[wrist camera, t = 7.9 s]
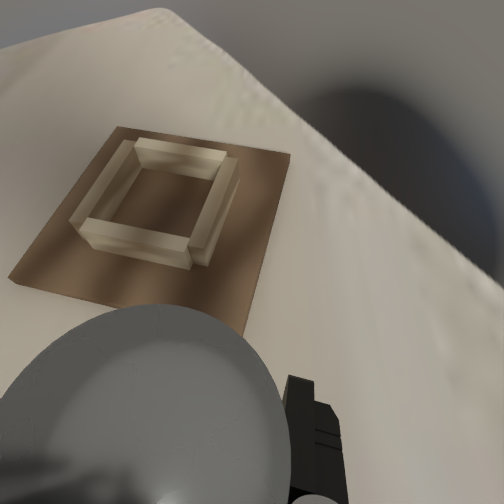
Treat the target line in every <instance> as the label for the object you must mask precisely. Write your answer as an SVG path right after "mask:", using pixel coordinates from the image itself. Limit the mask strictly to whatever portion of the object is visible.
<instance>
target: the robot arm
mask: <svg viewBox="0 0 504 504" xmlns="http://www.w3.org/2000/svg"><path fill="white" fill-rule="evenodd" d="M0 400H1V399H0ZM282 403H283V407H284V411H285V415H286V419H287V423H288V430H289V438H290V446H291V477H290V487H289V497H288V503H287V504H349V501H348V493H347V485H346V476H345V468H344V460H343V453H342V443H341V439H340V437H341V434H340V426H339V420H338V418H337V416H336V415H335V413H334V411H333V410H332V408H331V406H330V405H328V404H325V403H321V402H317V401H314V381H311V380H307V379H303V378H300V377H296V376H292V375H288V378H287V382H286V387H285V391H284V395H283V399H282Z"/></svg>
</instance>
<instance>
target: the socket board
mask: <svg viewBox="0 0 504 504" xmlns="http://www.w3.org/2000/svg"><path fill="white" fill-rule="evenodd" d="M289 163H290V154H287V153H281V152H275V151H268V150H262V149H256V148H250V147H243V146H237V145H231V144H225V143H218V142H212V141H206V140H200V139H193V138H187V137H181V136H175V135H168V134H162V133H156V132H150V131H143V130H137V129H131V128H125V127H118V126H117V127H116V129H115V130H114V131H113V133H112V134H111V135H110V137H109V138H108V140H107V141H106V142H105V144H104V145H103V147H102V148H101V149H100V151H99V152H98V153H97V155H96V156H95V158H94V159H93V160H92V162H91V163H90V164H89V166H88V167H87V169H86V170H85V171H84V173H83V174H82V175H81V177H80V178H79V180H78V181H77V182H76V184H75V185H74V187H73V188H72V189H71V191H70V192H69V193H68V195H67V196H66V198H65V199H64V200H63V202H62V203H61V204H60V206H59V207H58V209H57V210H56V211H55V213H54V214H53V215H52V217H51V218H50V220H49V221H48V222H47V224H46V225H45V227H44V228H43V229H42V231H41V232H40V233H39V235H38V236H37V238H36V239H35V240H34V242H33V243H32V244H31V246H30V247H29V249H28V250H27V251H26V253H25V254H24V255H23V257H22V258H21V260H20V261H19V262H18V264H17V265H16V267H15V268H14V269H13V271H12V272H11V273H10V275H9V276H8V278H9V279H10V280H12V281H13V282H14V283H16V284H19V285H24V286H28V287H32V288H36V289H40V290H44V291H48V292H52V293H56V294H61V295H65V296H69V297H73V298H77V299H81V300H85V301H89V302H94V303H98V304H102V305H106V306H110V307H114V308H118V309H121V308H125V307H131V306H136V305H145V304H168V305H177V306H182V307H187V308H191V309H194V310H197V311H200V312H203V313H206V314H208V315H210V316H212V317H214V318H216V319H218V320H220V321H221V322H223V323H224V324H226V325H227V326H229V327H231V328H232V329H233V330H234V331H236V332H237V333H238V334H239V335H240V336H241V337H243V333H244V330H245V326H246V322H247V318H248V315H249V311H250V307H251V304H252V300H253V296H254V292H255V289H256V285H257V281H258V278H259V274H260V270H261V266H262V263H263V259H264V255H265V252H266V248H267V244H268V241H269V237H270V233H271V229H272V226H273V222H274V218H275V215H276V211H277V207H278V203H279V200H280V196H281V192H282V189H283V185H284V181H285V177H286V174H287V170H288V166H289Z"/></svg>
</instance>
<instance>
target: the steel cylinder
mask: <svg viewBox="0 0 504 504" xmlns="http://www.w3.org/2000/svg"><path fill="white" fill-rule="evenodd" d="M290 477H291V446H290V438H289V430H288V423H287V419H286V415H285V411H284V407H283V403H282V400H281V398H280V395H279V392H278V389H277V387H276V384H275V382H274V380H273V379H272V377H271V375H270V373H269V371H268V369H267V367H266V366H265V364H264V363H263V361H262V360H261V358H260V357H259V355H258V354H257V353H256V351H255V350H254V349H253V348H252V347H251V346H250V345H249V344H248V342H247V341H246V340H245V339H244V338H243V337H241V336H240V335H239V334H238V333H237V332H236V331H234V330H233V329H232V328H231V327H229V326H227V325H226V324H224V323H223V322H221V321H220V320H218V319H216V318H214V317H212V316H210V315H208V314H206V313H203V312H200V311H197V310H194V309H191V308H187V307H182V306H177V305H168V304H145V305H136V306H131V307H125V308H121V309H117V310H114V311H111V312H107V313H104V314H102V315H100V316H97V317H95V318H93V319H90V320H88V321H86V322H84V323H82V324H81V325H79V326H77V327H75V328H73V329H72V330H70V331H69V332H67V333H66V334H64V335H63V336H61V337H60V338H58V339H57V340H55V341H54V342H53V343H52V344H51V345H49V346H48V347H47V348H46V349H45V350H43V351H42V352H41V353H40V354H39V355H38V356H37V357H36V358H35V359H34V360H33V361H32V362H31V363H30V364H29V365H28V366H27V367H26V368H25V369H24V370H23V371H22V372H21V373H20V375H19V376H18V377H17V378H16V379H15V381H14V382H13V383H12V384H11V386H10V387H9V388H8V390H7V391H6V392H5V394H4V395H3V397H2V398H1V400H0V504H287V503H288V497H289V487H290Z"/></svg>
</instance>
